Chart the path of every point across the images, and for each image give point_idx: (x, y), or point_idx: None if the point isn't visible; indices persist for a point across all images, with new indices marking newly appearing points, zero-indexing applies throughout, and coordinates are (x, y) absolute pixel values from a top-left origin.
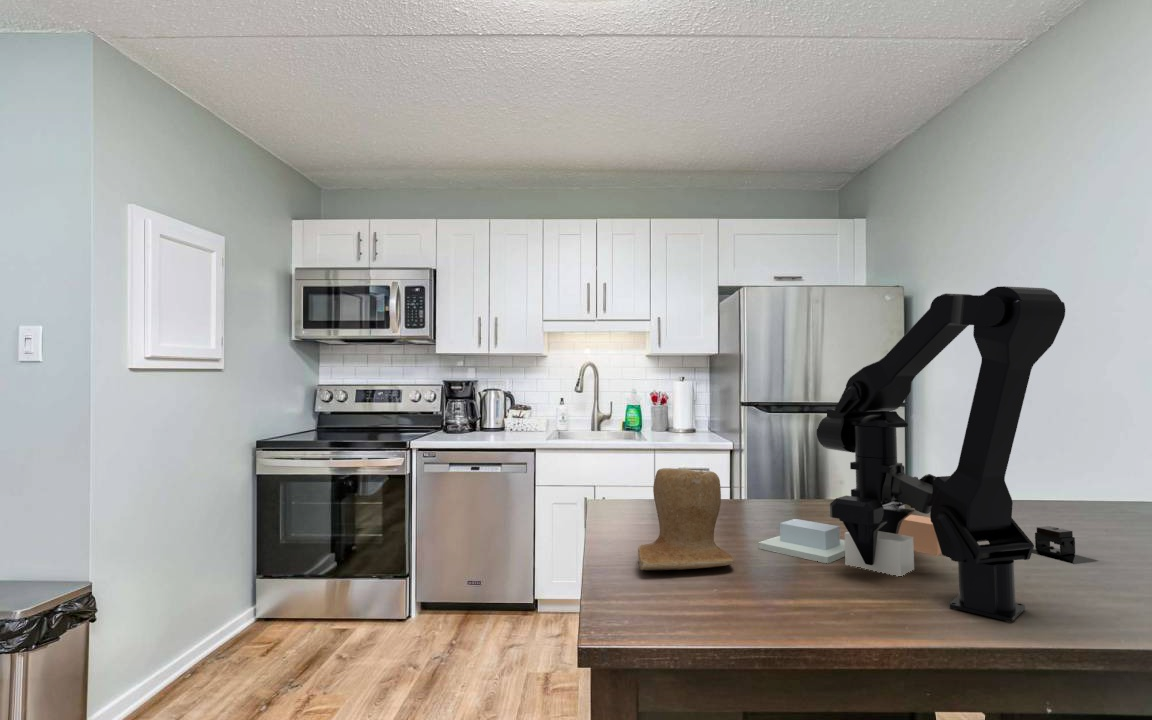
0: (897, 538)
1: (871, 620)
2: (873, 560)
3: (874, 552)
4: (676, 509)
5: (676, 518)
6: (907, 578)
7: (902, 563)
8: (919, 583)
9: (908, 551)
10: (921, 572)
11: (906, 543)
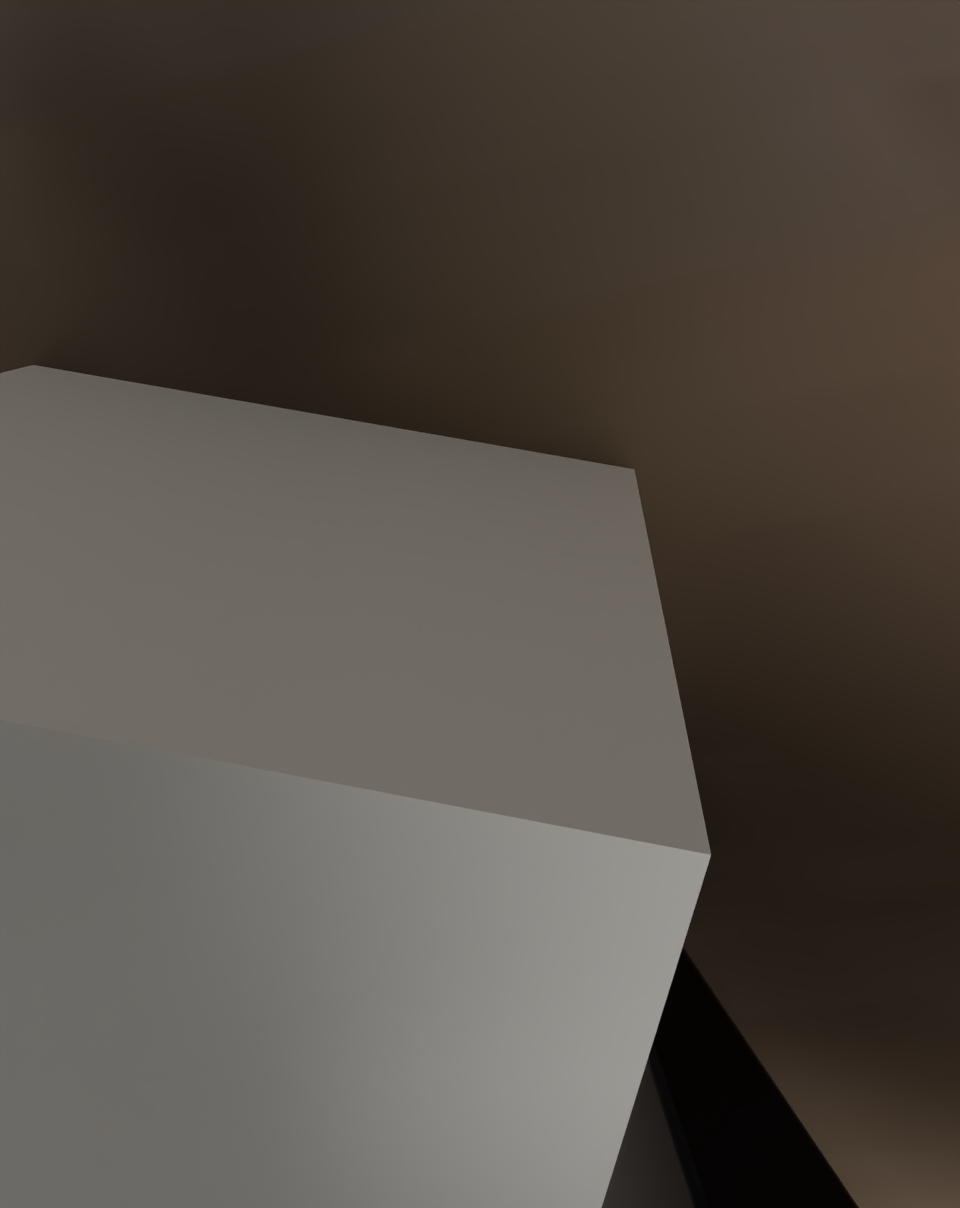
0: (4, 993)
1: None
2: (678, 980)
3: (724, 1108)
4: None
5: None
6: (652, 359)
7: (533, 519)
8: (877, 92)
9: (63, 514)
10: (95, 221)
11: (54, 643)
